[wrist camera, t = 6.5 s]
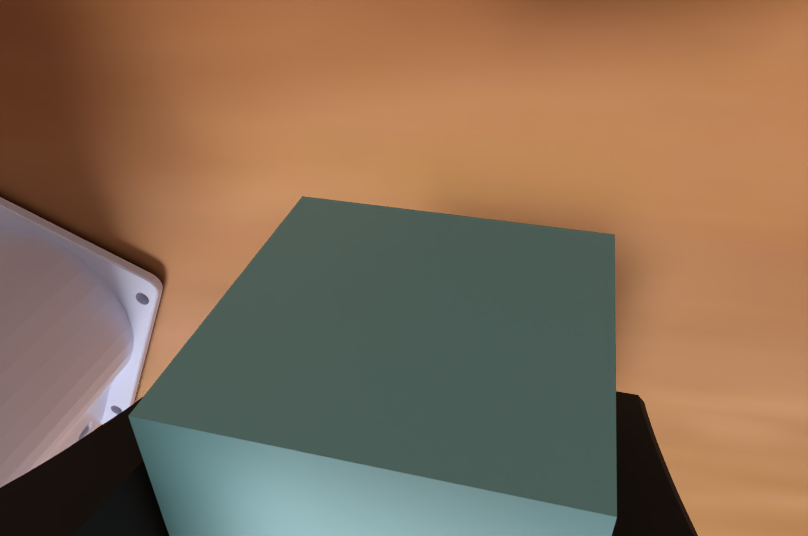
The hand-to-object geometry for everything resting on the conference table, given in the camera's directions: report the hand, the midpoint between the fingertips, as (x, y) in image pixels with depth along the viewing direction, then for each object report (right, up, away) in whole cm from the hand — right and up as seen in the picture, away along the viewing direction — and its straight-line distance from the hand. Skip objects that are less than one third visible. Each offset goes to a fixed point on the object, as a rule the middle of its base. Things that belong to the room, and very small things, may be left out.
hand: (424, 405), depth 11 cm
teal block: (0, +1, +1) cm, 2 cm away
